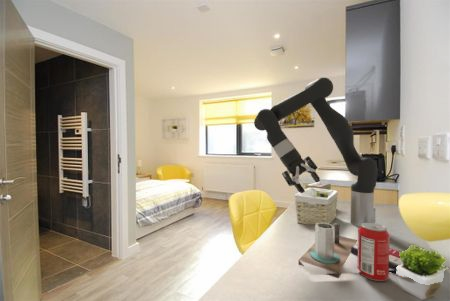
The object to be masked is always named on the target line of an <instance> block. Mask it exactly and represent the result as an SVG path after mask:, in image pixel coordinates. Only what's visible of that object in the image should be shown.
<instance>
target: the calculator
mask: <svg viewBox="0 0 450 301" xmlns="http://www.w3.org/2000/svg"><path fill="white" fill-rule="evenodd" d="M399 252H400V250H396V249H394V248H391V247H389V273H390V272H391V273H390V274H393V275H395V274H396V267H397V266H398V265H401V264H402V261H401V259H400V256H399ZM350 254H353V255H356V256H358V243H356V244H355V245H354V246H353V247H351V252H350Z"/></svg>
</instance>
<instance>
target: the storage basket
mask: <svg viewBox="0 0 450 301" xmlns="http://www.w3.org/2000/svg"><path fill="white" fill-rule="evenodd" d="M304 190H305V192H303V193H301V192H299V191H298V192H297V193H296V194H294V204H295V208H296V209H295V213H296V221H297V223H299V224H303V225H316V224H317V223H327V224H332V223H333V221H334V220H335V219H336V217H337V208H338V207H337V206H338V204H337V203H338V199H339V197H338V196H339V192H338V191H337V190H335V189H331V190H328V189H319V188H307V189H305V188H304ZM317 193H320V194H328V198H324V197H318V196H317Z"/></svg>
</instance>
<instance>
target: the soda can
mask: <svg viewBox="0 0 450 301" xmlns="http://www.w3.org/2000/svg"><path fill="white" fill-rule="evenodd" d="M357 244H358V255H357V269H358V271H359V272H358V273H359V274H360V275H362V276H363V277H364V278H366V279H368V280H371V281H375V282H384V281H387V280H388V279H389V277H390V276H389V274H390V272H389V270H390V267H389V248H390V244H391V243H390V232H389V231H388V228H387V227H386V226H384V225H382V224H378V223H376V222H375V223H361V226H360V227H358V228H357Z"/></svg>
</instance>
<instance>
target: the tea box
mask: <svg viewBox="0 0 450 301" xmlns="http://www.w3.org/2000/svg"><path fill="white" fill-rule="evenodd" d="M331 184H332V183H326V182H320V181H319V182H315V181H314V182H311V183H308V184H305V188H304V190H305V189H307V188H319V189H328V190H332V185H331ZM317 196H318V197H324V198H328V194H320V193H317Z"/></svg>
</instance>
